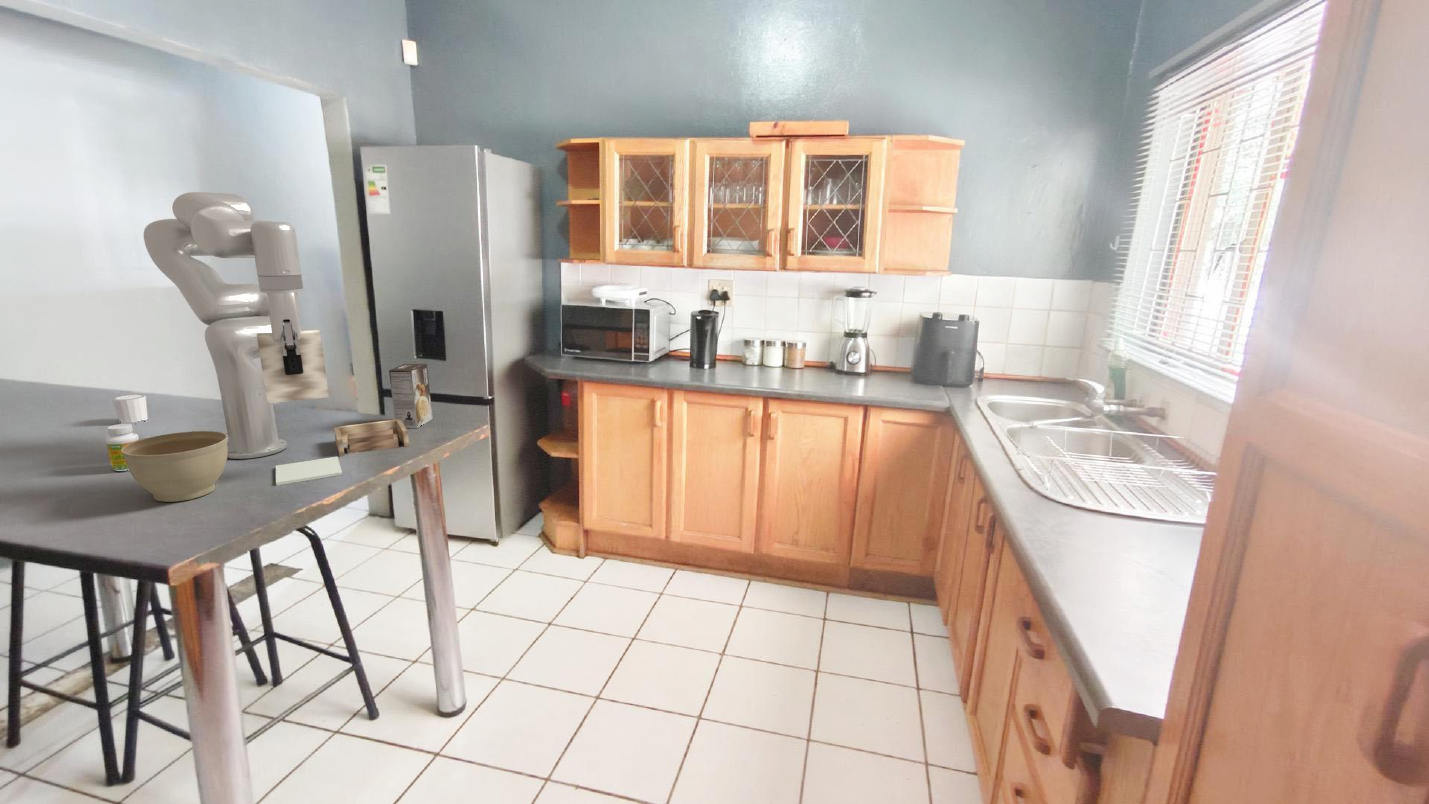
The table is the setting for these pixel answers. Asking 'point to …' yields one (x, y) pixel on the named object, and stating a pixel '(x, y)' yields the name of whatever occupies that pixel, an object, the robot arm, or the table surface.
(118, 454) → the supplement bottle
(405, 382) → the coffee box
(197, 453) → the planter bowl
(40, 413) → the table surface
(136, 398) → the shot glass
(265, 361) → the birch sheet
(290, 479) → the sage board
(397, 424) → the pine rack
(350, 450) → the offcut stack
